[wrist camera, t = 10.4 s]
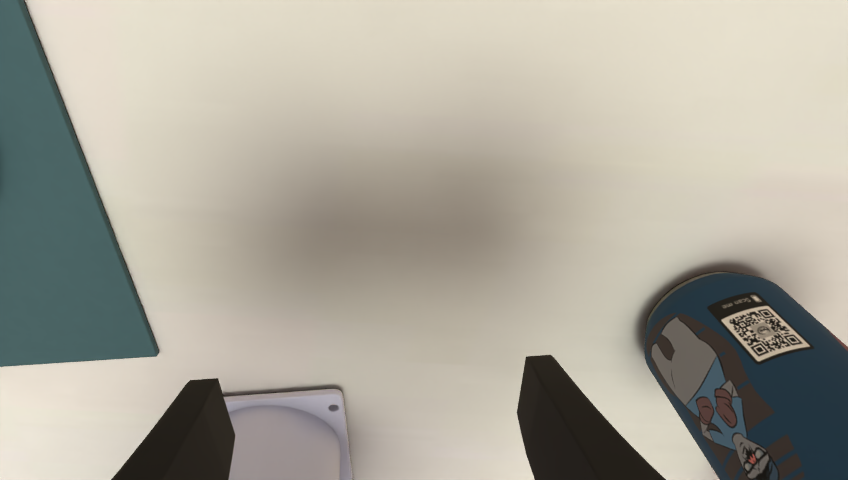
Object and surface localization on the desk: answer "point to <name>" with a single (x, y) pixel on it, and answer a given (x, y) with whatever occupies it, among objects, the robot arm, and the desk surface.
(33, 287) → the mouse pad
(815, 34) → the desk surface
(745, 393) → the soda can
